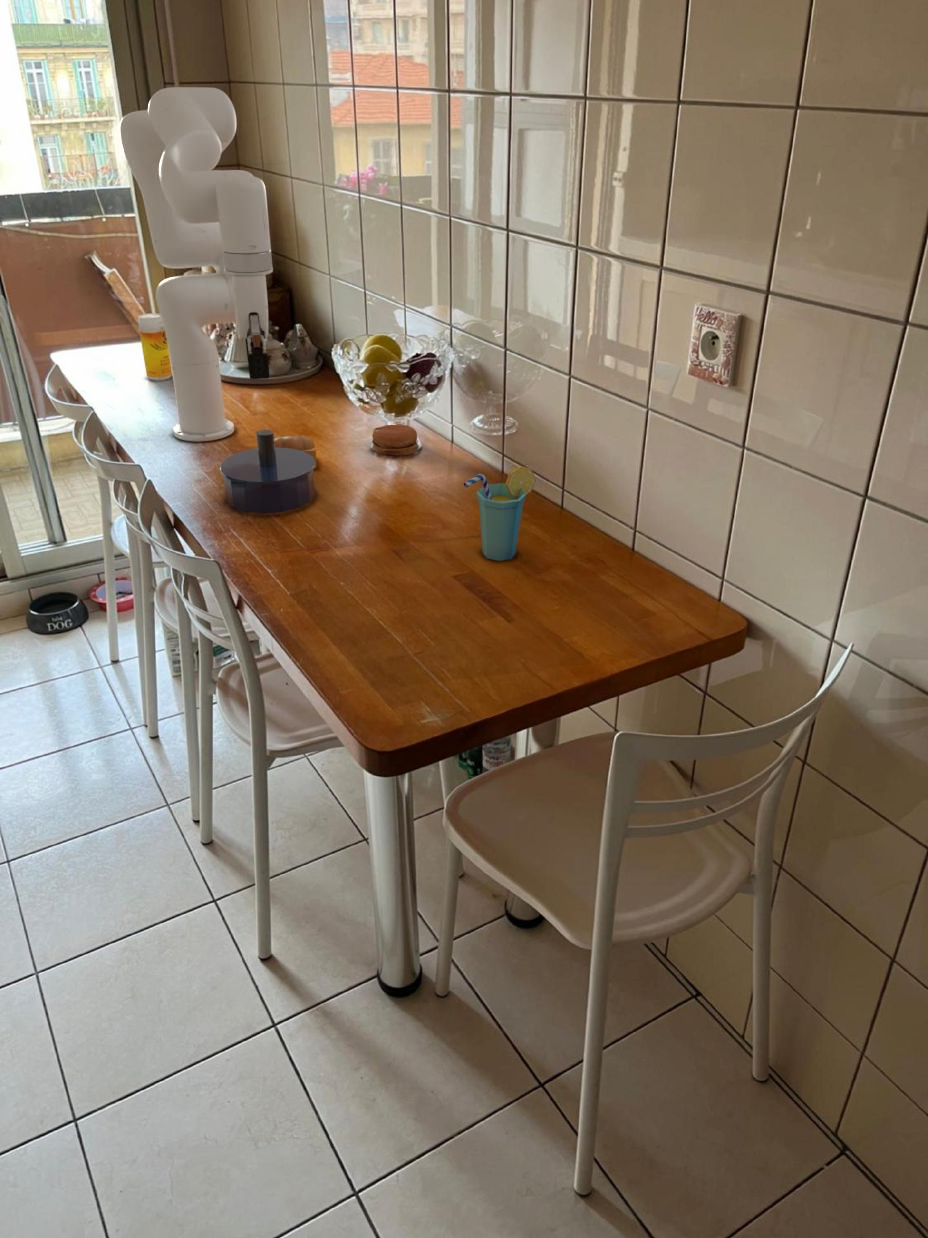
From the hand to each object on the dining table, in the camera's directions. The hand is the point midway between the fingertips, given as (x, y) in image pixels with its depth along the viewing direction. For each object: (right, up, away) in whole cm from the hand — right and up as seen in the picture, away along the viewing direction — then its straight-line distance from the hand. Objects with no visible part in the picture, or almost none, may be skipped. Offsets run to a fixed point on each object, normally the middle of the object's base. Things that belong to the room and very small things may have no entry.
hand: (258, 369), depth 154 cm
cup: (+40, -32, -6) cm, 51 cm away
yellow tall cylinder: (-41, +18, +75) cm, 87 cm away
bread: (+1, -12, +25) cm, 28 cm away
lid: (0, -15, +9) cm, 17 cm away
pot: (0, -20, +12) cm, 23 cm away
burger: (+20, -7, +34) cm, 40 cm away
